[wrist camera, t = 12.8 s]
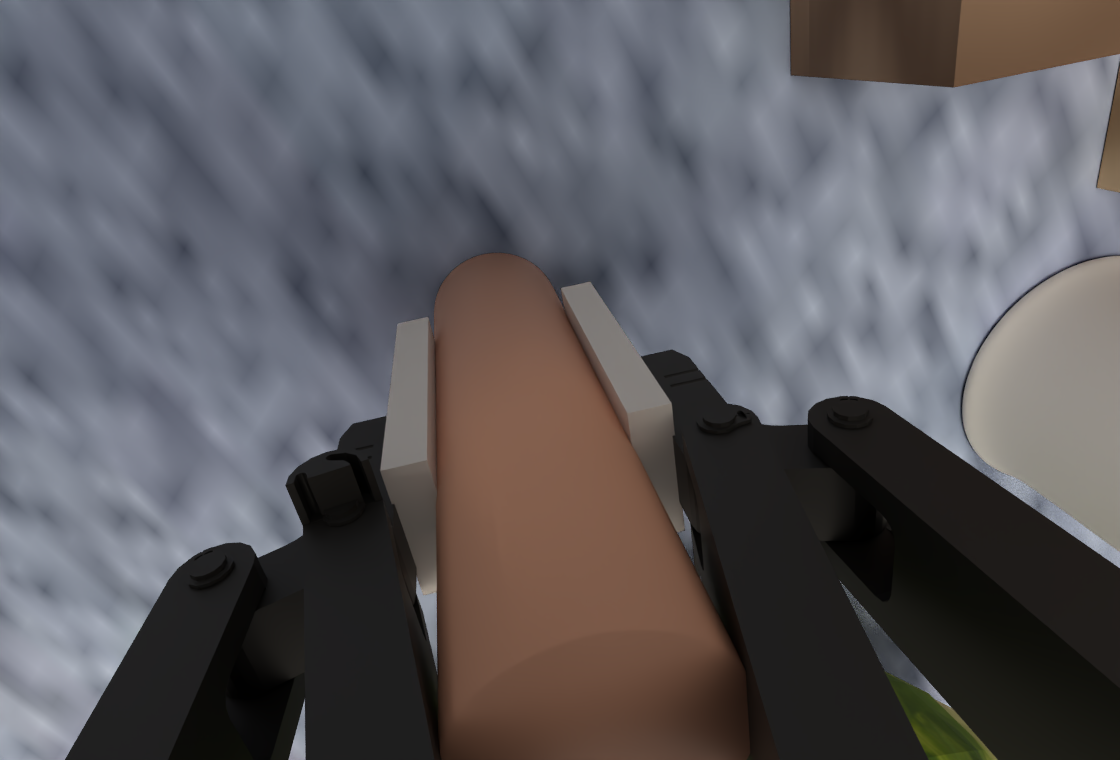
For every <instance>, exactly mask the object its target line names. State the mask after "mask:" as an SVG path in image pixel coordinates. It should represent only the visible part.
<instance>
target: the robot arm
mask: <svg viewBox="0 0 1120 760" xmlns="http://www.w3.org/2000/svg"><path fill="white" fill-rule="evenodd" d="M561 292H562V298H563V304H564V310H565V313H566V315H567V317H568V319H569V321H570V323H571V325H572V327H573V329H574V331H575V333H576V335H577V337H578V339H579V341H580V343H581V345H582V347H583V349H584V351H585V353H586V355H587V357H588V359H589V361H590V363H591V365H592V367H593V369H594V371H595V373H596V375H597V377H598V379H599V381H600V383H601V385H602V387H603V389H604V391H605V393H606V395H607V397H608V399H609V401H610V403H611V405H612V407H613V409H614V411H615V413H616V415H617V417H618V419H619V421H620V423H621V425H622V427H623V429H624V431H625V433H626V435H627V437H628V439H629V441H630V443H631V445H632V446H633V448H634V450H635V451H636V453H637V455H638V456H639V458H640V460H641V462H642V464H643V466H644V468H645V470H646V472H647V474H648V476H649V478H650V480H651V482H652V484H653V486H654V488H655V490H656V492H657V494H658V496H659V498H660V500H661V502H662V504H663V506H664V508H665V510H666V512H667V514H668V516H669V518H670V520H671V522H672V524H673V526H674V528H675V530H676V532H681V531H685V528H684V519H683V509H684V511H685V513H686V515H687V517H688V519H689V521H690V523H691V534H692V544H693V554H694V564H695V569H696V571H697V573H698V575H699V577H700V576H701V580H702V583H703V585H704V587H705V589H706V591H707V593H708V595H709V597H710V599H711V601H712V603H713V605H714V607H715V609H716V611H717V613H718V615H719V617H720V619H721V621H722V623H723V625H724V627H725V628H726V630H727V632H728V634H729V636H730V638H731V640H732V642H733V644H734V646H735V648H736V650H737V653H738V655H739V657H740V659H741V662H742V664H743V666H744V668H745V671H746V686H747V703H748V720H749V737H750V755H749V757H748V758H747V760H929V759H928V757H927V755H926V753H925V751H924V749H923V747H922V745H921V743H920V741H919V739H918V737H917V735H916V733H915V731H914V729H913V727H912V725H911V723H910V721H909V719H908V717H907V715H906V713H905V711H904V709H903V707H902V705H901V703H900V701H899V699H898V697H897V695H896V693H895V691H894V689H893V687H892V685H891V683H890V681H889V679H888V677H887V675H886V673H885V671H884V669H883V667H882V665H881V663H880V661H879V659H878V657H877V655H876V653H875V651H874V649H873V647H872V645H871V643H870V641H869V639H868V637H867V635H866V633H865V631H864V629H863V627H862V625H861V623H860V621H859V619H858V617H857V615H856V613H855V611H854V609H853V607H852V605H851V603H850V601H849V599H848V597H847V595H846V593H845V591H844V589H843V587H842V585H841V583H840V581H841V582H842V583H843V585H844V586H845V587H846V588H847V589H848V590H849V591H850V592H851V594H852V595H853V596H854V597H855V598H856V599H857V600H858V602H859V603H860V604H861V605H862V606H863V607H864V608H865V610H866V611H867V612H868V613H869V614H870V615H871V616H872V617H873V619H874V620H875V621H876V622H877V623H878V624H879V625H880V627H881V628H882V629H883V630H884V631H885V632H886V633H887V635H888V636H889V637H890V638H891V639H892V640H893V641H894V642H895V644H896V645H897V646H898V647H899V648H900V649H901V650H902V652H903V653H904V654H905V655H906V656H907V657H908V658H909V660H910V661H911V662H912V663H913V664H914V665H915V666H916V667H917V669H918V670H919V671H920V672H921V673H922V674H923V675H924V677H925V678H926V679H927V680H928V681H929V682H930V683H931V685H932V686H933V687H934V688H935V689H936V690H937V691H938V692H939V694H940V695H941V696H942V697H943V698H944V699H945V700H946V702H947V703H948V704H949V705H950V706H951V707H952V708H953V710H954V711H955V712H956V713H957V714H958V715H959V716H960V717H961V719H962V720H963V721H964V722H965V723H966V724H967V725H968V727H969V728H970V729H971V730H972V731H973V732H974V733H975V735H976V736H977V737H978V738H979V739H980V740H981V741H982V742H983V744H984V745H985V746H986V747H987V748H988V749H989V750H990V752H991V753H992V754H993V755H994V756H995V757H996V758H997V760H1120V568H1118V567H1117V566H1116V565H1114V564H1113V563H1111V562H1110V561H1108V560H1107V559H1105V558H1104V557H1103V556H1101V555H1100V554H1098V553H1097V552H1095V551H1094V550H1092V549H1091V548H1090V547H1088V546H1087V545H1085V544H1084V543H1082V542H1081V541H1079V540H1078V539H1077V538H1075V537H1074V536H1072V535H1071V534H1069V533H1068V532H1066V531H1065V530H1064V529H1062V528H1061V527H1059V526H1058V525H1056V524H1055V523H1053V522H1052V521H1051V520H1049V519H1048V518H1046V517H1045V516H1043V515H1042V514H1040V513H1039V512H1038V511H1036V510H1035V509H1033V508H1032V507H1030V506H1029V505H1027V504H1026V503H1025V502H1023V501H1022V500H1020V499H1019V498H1017V497H1016V496H1014V495H1013V494H1012V493H1010V492H1009V491H1007V490H1006V489H1004V488H1003V487H1001V486H1000V485H999V484H997V483H996V482H994V481H993V480H991V479H990V478H988V477H987V476H986V475H984V474H983V473H981V472H980V471H978V470H977V469H975V468H974V467H973V466H971V465H970V464H968V463H967V462H965V461H964V460H962V459H961V458H960V457H958V456H957V455H955V454H954V453H952V452H951V451H949V450H948V449H946V448H945V447H944V446H942V445H941V444H939V443H938V442H936V441H935V440H933V439H932V438H931V437H929V436H928V435H926V434H925V433H923V432H922V431H920V430H919V429H918V428H916V427H915V426H913V425H912V424H910V423H909V422H907V421H906V420H905V419H903V418H902V417H900V416H899V415H897V414H896V413H894V412H893V411H892V410H890V409H889V408H887V407H886V406H884V405H882V404H880V403H878V402H876V401H873V400H869V399H865V398H860V397H856V396H850V397H848V396H840V397H835V398H829V399H825V400H823V401H821V402H819V403H816V404H815V405H814V406H813V407H812V408H811V409H810V410H809V411H808V425H787V426H771V425H763V424H761V423H760V421H759V419H758V417H757V416H756V415H755V414H754V413H753V412H752V411H751V410H749V409H746V408H744V407H742V406H738V405H732V404H727V403H726V402H725V400H724V399H723V398H722V397H721V396H720V394H719V393H718V392H717V391H716V389H715V388H714V387H713V386H712V385H711V383H710V382H709V381H708V380H707V379H706V378H705V376H704V375H703V374H702V372H701V371H700V370H699V371H698V368H697V366H696V365H695V364H694V363H693V362H692V360H691V359H690V358H689V357H687V356H685V355H683V354H681V353H678V352H676V351H674V350H668V351H663V352H659V353H655V354H650V355H646V356H641V357H640V355H639V354H638V352H637V351H636V349H635V348H634V346H633V345H632V343H631V342H630V340H629V339H628V337H627V336H626V334H625V333H624V331H623V330H622V328H621V327H620V325H619V324H618V322H617V321H616V319H615V318H614V316H613V315H612V313H611V312H610V310H609V309H608V307H607V306H606V304H605V303H604V301H603V300H602V299H601V297H600V296H599V294H598V293H597V291H596V290H595V288H594V287H593V285H592V284H591V282H586V283H581V284H577V285H572V286H568V287H563V288H561ZM286 488H287V490H288V492H289V495H290V497H291V499H292V502H293V504H294V506H295V509H296V511H297V513H298V516H299V518H300V520H301V523H302V525H303V536H301V537H300V538H298V539H297V540H295V541H293V542H291V543H289V544H288V545H286V546H284V547H282V548H279V549H277V550H275V551H273V552H270V553H268V554H266V555H263V556H261V557H259V558H257V556H256V554H255V552H254V551H253V549H252V548H251V546H250V545H246V544H243V543H240V542H239V543H225V544H222V545H219V546H216V547H212V548H209V549H206V550H204V551H203V552H200V553H198V554H197V555H195V556H193V557H192V558H191V559H189V560H188V561H187V562H186V563H184V564H183V565H182V566H180V567H179V568H178V569H177V571H176V572H175V573H174V574H173V575H172V577H171V578H170V579H169V581H168V582H167V584H166V586H165V587H164V589H163V591H162V593H161V594H160V596H159V598H158V600H157V601H156V603H155V605H154V606H153V608H152V610H151V612H150V613H149V615H148V617H147V619H146V620H145V622H144V624H143V626H142V627H141V629H140V631H139V632H138V634H137V636H136V638H135V639H134V641H133V643H132V645H131V646H130V648H129V650H128V651H127V653H126V655H125V657H124V658H123V660H122V662H121V664H120V665H119V667H118V669H117V671H116V672H115V674H114V676H113V677H112V679H111V681H110V683H109V684H108V686H107V688H106V690H105V691H104V693H103V695H102V696H101V698H100V700H99V702H98V703H97V705H96V707H95V709H94V710H93V712H92V714H91V716H90V717H89V719H88V721H87V722H86V724H85V726H84V728H83V729H82V731H81V733H80V735H79V736H78V738H77V740H76V741H75V743H74V745H73V747H72V748H71V750H70V752H69V754H68V755H67V757H66V759H65V760H288V759H289V755H290V751H291V747H292V744H293V740H294V736H295V733H296V729H297V725H298V722H299V718H300V714H301V710H302V707H303V703H304V699H305V741H306V760H442V759H441V757H440V750H439V741H438V675H437V671H436V667H435V662H434V658H433V654H432V649H431V645H430V641H429V636H428V632H427V628H426V623H425V619H424V615H423V611H422V608H421V605H420V603H419V600H418V597H417V594H416V575H417V578H418V581H419V584H420V587H421V590H422V592H423V595H427V594H431V593H435V592H437V566H436V499H437V446H436V369H435V340H434V336H433V333H432V329H431V325H430V322H429V318H428V317H425V318H420V319H416V320H411V321H406V322H402V323H398V324H397V333H396V341H395V350H394V358H393V367H392V375H391V384H390V392H389V401H388V409H387V416H385V417H380V418H376V419H372V420H367V421H363V422H358V423H354V424H352V425H351V426H350V427H349V429H348V430H347V431H346V432H345V433H344V434H343V436H342V437H341V438H340V441H339V445H338V449H337V450H334V451H329V452H325V453H323V454H321V455H318V456H316V457H313V458H311V459H309V460H308V461H306V462H305V463H303V464H302V465H300V466H298V467H297V468H296V469H295V470H294V471H293V473H292V474H291V475H290V476H289V477H288V480H287V483H286ZM682 508H683V509H682ZM839 580H840V581H839Z"/></svg>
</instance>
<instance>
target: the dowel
mask: <svg viewBox="0 0 1120 760" xmlns="http://www.w3.org/2000/svg"><path fill="white" fill-rule="evenodd" d="M434 340H435V369H436V446H437V499H436V566H437V668H438V741H439V750H440V757H441V759H442V760H747V758H748V757H749V755H750V737H749V720H748V703H747V686H746V671H745V668H744V666H743V664H742V662H741V659H740V657H739V655H738V653H737V650H736V648H735V646H734V644H733V642H732V640H731V638H730V636H729V634H728V632H727V630H726V628H725V627H724V625H723V623H722V621H721V619H720V617H719V615H718V613H717V611H716V609H715V607H714V605H713V603H712V601H711V599H710V597H709V595H708V593H707V591H706V589H705V587H704V585H703V583H702V581H701V579H700V577H699V575H698V573H697V571H696V569H695V567H694V565H693V563H692V561H691V559H690V557H689V555H688V553H687V551H686V549H685V547H684V545H683V543H682V541H681V539H680V537H679V535H678V534H677V532H676V530H675V528H674V526H673V524H672V522H671V520H670V518H669V516H668V514H667V512H666V510H665V508H664V506H663V504H662V502H661V500H660V498H659V496H658V494H657V492H656V490H655V488H654V486H653V484H652V482H651V480H650V478H649V476H648V474H647V472H646V470H645V468H644V466H643V464H642V462H641V460H640V458H639V456H638V455H637V453H636V451H635V450H634V448H633V446H632V445H631V443H630V441H629V439H628V437H627V435H626V433H625V431H624V429H623V427H622V425H621V423H620V421H619V419H618V417H617V415H616V413H615V411H614V409H613V407H612V405H611V403H610V401H609V399H608V397H607V395H606V393H605V391H604V389H603V387H602V385H601V383H600V381H599V379H598V377H597V375H596V373H595V371H594V369H593V367H592V365H591V363H590V361H589V359H588V357H587V355H586V353H585V351H584V349H583V347H582V345H581V343H580V341H579V339H578V337H577V335H576V333H575V331H574V329H573V327H572V325H571V323H570V321H569V319H568V317H567V315H566V313H565V310H564V308H563V306H562V304H561V302H560V300H559V298H558V296H557V294H556V292H555V290H554V288H553V286H552V284H551V283H550V281H549V279H548V278H547V277H546V275H545V274H544V273H543V272H542V271H541V270H540V269H539V268H538V267H537V266H535V265H534V264H533V263H531V262H529V261H528V260H526V259H524V258H521V257H519V256H516V255H512V254H506V253H489V254H483V255H479V256H476V257H473V258H471V259H468V260H467V261H465V262H463V263H461V264H460V265H459V266H457V267H456V268H455V269H454V270H453V271H452V272H451V273H450V274H449V275H448V276H447V277H446V279H445V280H444V281H443V283H442V285H441V287H440V288H439V291H438V293H437V296H436V300H435V306H434Z"/></svg>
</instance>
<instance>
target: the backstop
mask: <svg viewBox="0 0 1120 760" xmlns="http://www.w3.org/2000/svg"><path fill="white" fill-rule="evenodd" d="M1097 188H1101V189H1105V190H1110V191H1115V192H1120V68H1119V74H1118V79H1117V84H1116V90H1115V95H1114V100H1113V105H1112V111H1111V116H1110V121H1109V126H1108V132H1107V137H1106V142H1105V148H1104V153H1103V158H1102V163H1101V169H1100V174H1099V179H1098V184H1097Z"/></svg>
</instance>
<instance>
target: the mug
mask: <svg viewBox="0 0 1120 760" xmlns="http://www.w3.org/2000/svg"><path fill="white" fill-rule="evenodd" d="M962 416H963V424H964V429H965V432H966V435H967V438H968V440H969V442H970V444H971V446H972V448H973V449H974V451H975V452H976V453H977V454H978V456H979V457H980V458H981V459H982V460H983V461H985V462H986V463H987V464H988V465H990V466H991V467H993V468H995V469H996V470H998V471H1000V472H1003V473H1005V474H1007V475H1010V476H1013V477H1015V478H1017V479H1019V480H1020V481H1022V482H1023V483H1025V484H1026V485H1028V486H1029V487H1031V488H1032V489H1034V490H1035V491H1037V492H1038V493H1039V494H1041V495H1042V496H1044V497H1045V498H1046V499H1048V500H1049V501H1051V502H1052V503H1053V504H1055V505H1056V506H1057V507H1059V508H1060V509H1062V510H1063V511H1064V512H1066V513H1067V514H1068V515H1070V516H1071V517H1073V518H1074V519H1075V520H1077V521H1078V522H1079V523H1081V524H1082V525H1083V526H1085V527H1086V528H1088V529H1089V530H1090V531H1092V532H1093V533H1094V534H1096V535H1097V536H1098V537H1100V538H1101V539H1102V540H1104V541H1105V542H1107V543H1108V544H1109V545H1111V546H1112V547H1113V548H1115V549H1116V550H1117V551H1119V552H1120V256H1110V257H1103V258H1098V259H1094V260H1090V261H1086V262H1083V263H1080V264H1078V265H1075V266H1073V267H1070V268H1068V269H1066V270H1064V271H1062V272H1060V273H1058V274H1056V275H1054V276H1053V277H1051V278H1049V279H1047V280H1046V281H1044V282H1043V283H1041V284H1040V285H1038V286H1037V287H1036V288H1034V289H1033V290H1032V291H1030V292H1029V293H1028V294H1026V295H1025V296H1024V297H1023V298H1022V299H1021V300H1019V301H1018V302H1017V303H1016V304H1015V305H1014V306H1013V307H1012V308H1011V309H1010V310H1009V311H1008V312H1007V313H1006V314H1005V315H1004V316H1003V318H1002V319H1001V320H1000V321H999V322H998V324H997V325H996V326H995V327H994V329H993V330H992V331H991V333H990V334H989V336H988V337H987V339H986V340H985V342H984V343H983V345H982V347H981V348H980V350H979V352H978V354H977V356H976V358H975V360H974V362H973V364H972V367H971V369H970V372H969V375H968V378H967V381H966V385H965V389H964V395H963V404H962Z"/></svg>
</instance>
